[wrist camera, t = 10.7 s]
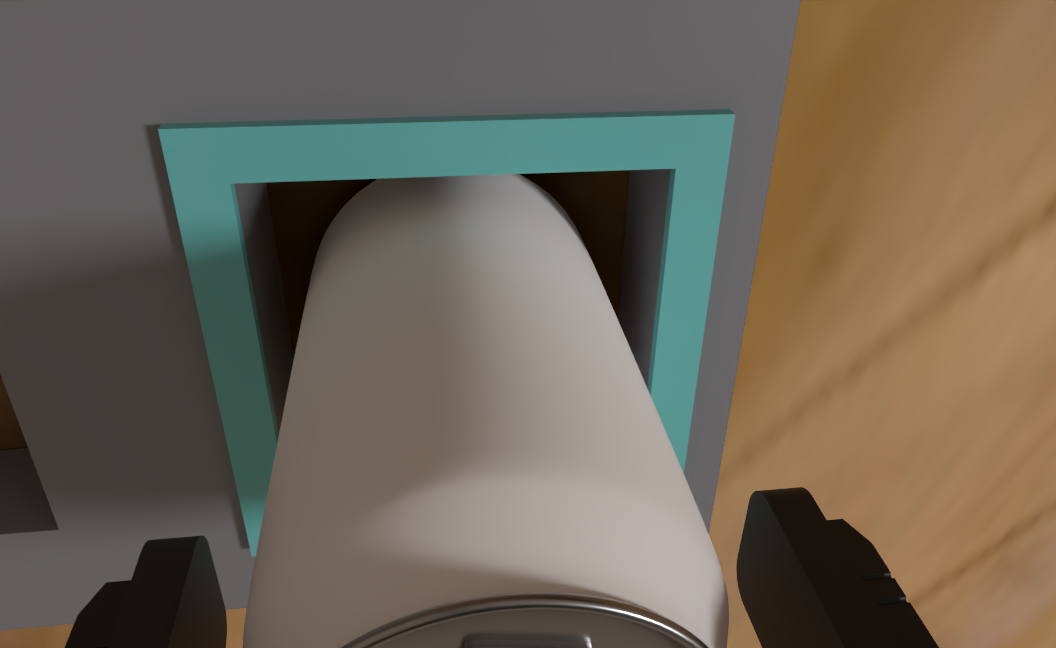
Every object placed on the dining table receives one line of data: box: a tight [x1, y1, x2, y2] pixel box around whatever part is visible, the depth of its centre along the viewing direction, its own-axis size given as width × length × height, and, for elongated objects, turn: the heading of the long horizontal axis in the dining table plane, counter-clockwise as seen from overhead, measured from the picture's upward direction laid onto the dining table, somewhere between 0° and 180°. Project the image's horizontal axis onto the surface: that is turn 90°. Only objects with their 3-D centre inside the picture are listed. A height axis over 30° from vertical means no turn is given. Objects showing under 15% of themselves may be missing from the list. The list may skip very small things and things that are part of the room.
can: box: [243, 174, 729, 648], centre depth 15 cm, size 6×6×12 cm
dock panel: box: [0, 0, 800, 630], centre depth 18 cm, size 14×25×3 cm, turn 89°
